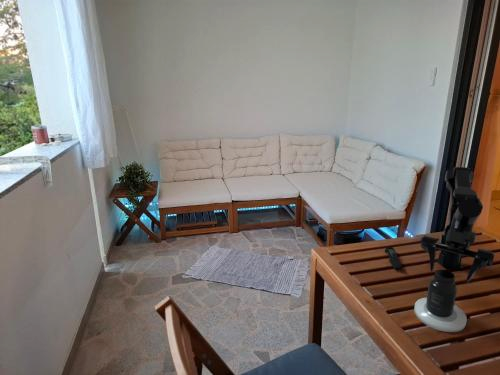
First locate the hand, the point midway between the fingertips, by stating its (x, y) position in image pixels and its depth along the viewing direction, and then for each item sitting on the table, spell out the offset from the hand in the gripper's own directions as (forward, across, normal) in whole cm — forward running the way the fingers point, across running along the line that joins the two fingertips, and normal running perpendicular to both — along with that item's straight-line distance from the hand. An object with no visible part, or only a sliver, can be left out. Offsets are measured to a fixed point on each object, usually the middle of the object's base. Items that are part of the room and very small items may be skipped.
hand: (448, 276), depth 96 cm
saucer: (+12, 0, +2) cm, 12 cm away
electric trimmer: (-5, -20, +19) cm, 28 cm away
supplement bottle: (+10, 0, +1) cm, 11 cm away
